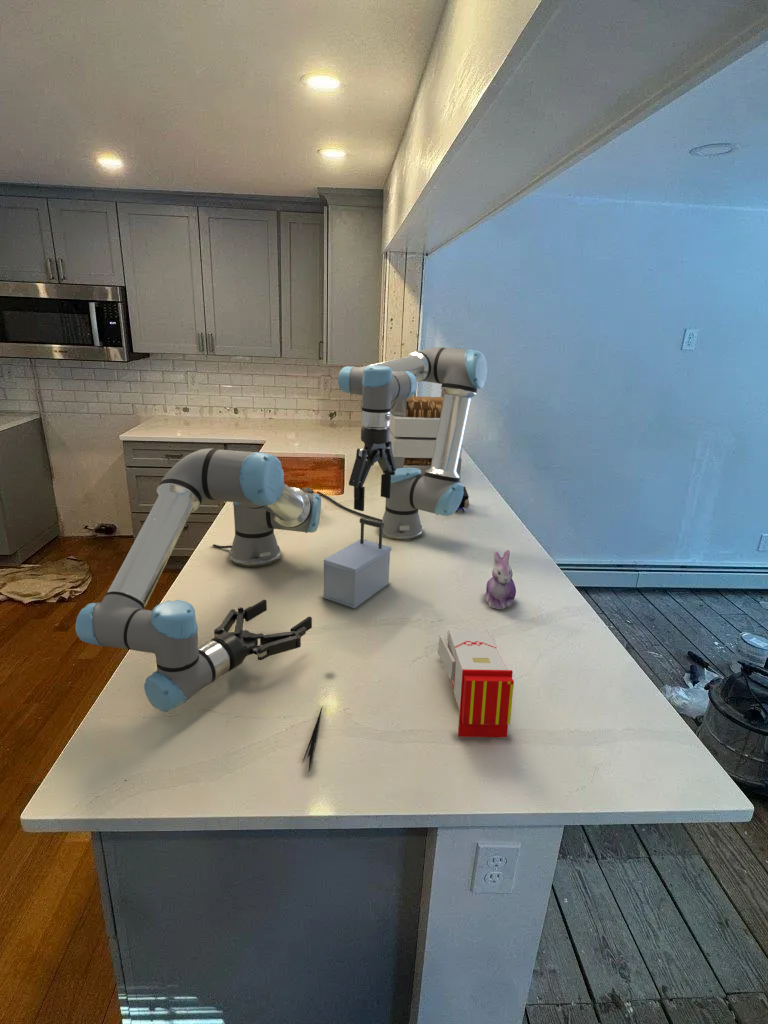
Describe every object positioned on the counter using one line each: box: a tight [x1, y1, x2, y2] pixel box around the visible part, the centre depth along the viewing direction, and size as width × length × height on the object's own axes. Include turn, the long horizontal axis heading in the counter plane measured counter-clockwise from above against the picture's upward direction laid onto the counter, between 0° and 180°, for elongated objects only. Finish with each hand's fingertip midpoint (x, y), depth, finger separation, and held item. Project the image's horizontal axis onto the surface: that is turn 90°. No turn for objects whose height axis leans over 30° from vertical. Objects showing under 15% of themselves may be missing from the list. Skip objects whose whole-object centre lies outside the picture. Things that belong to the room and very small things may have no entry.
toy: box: [437, 628, 515, 738], centre depth 117 cm, size 12×13×30 cm
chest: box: [323, 551, 391, 609], centre depth 157 cm, size 18×10×10 cm, turn 149°
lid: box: [323, 516, 392, 574], centre depth 154 cm, size 18×10×9 cm, turn 149°
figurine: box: [484, 549, 517, 610], centre depth 153 cm, size 9×10×15 cm
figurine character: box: [455, 485, 470, 513], centre depth 227 cm, size 7×8×15 cm
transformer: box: [388, 390, 464, 483], centre depth 268 cm, size 34×33×41 cm
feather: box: [301, 673, 332, 771], centre depth 108 cm, size 2×28×2 cm
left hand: (287, 613), depth 132 cm, fingers open, 13 cm apart
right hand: (372, 503), depth 156 cm, fingers open, 13 cm apart
